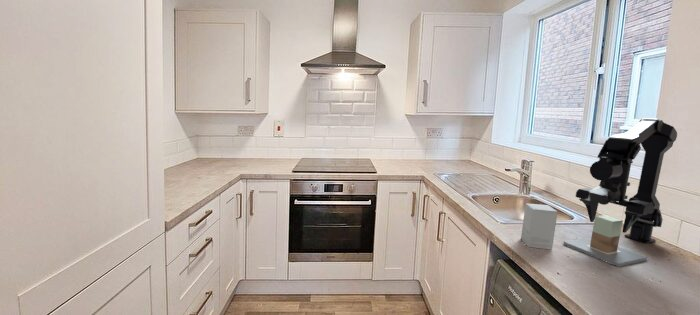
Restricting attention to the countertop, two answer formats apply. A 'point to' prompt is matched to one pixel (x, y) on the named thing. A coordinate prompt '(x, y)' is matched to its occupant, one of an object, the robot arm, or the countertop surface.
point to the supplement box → (539, 226)
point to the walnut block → (604, 242)
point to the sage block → (607, 226)
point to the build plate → (614, 258)
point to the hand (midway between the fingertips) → (607, 226)
